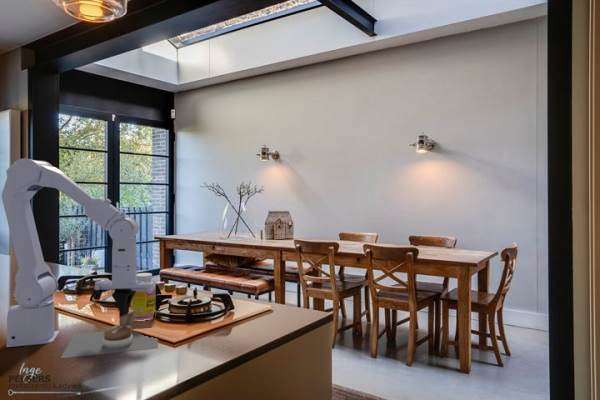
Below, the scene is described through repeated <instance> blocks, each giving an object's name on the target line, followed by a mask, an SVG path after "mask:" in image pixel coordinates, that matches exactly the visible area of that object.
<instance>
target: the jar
mask: <svg viewBox="0 0 600 400" xmlns="http://www.w3.org/2000/svg"><path fill="white" fill-rule="evenodd" d="M131 343H132V335H131V336H130V337H128V338H126V339H122V340H116V341H110V340H106V339H104V338H103V346H104V347H106V348H120V347H124V346H127V345H130V344H131Z"/></svg>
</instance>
